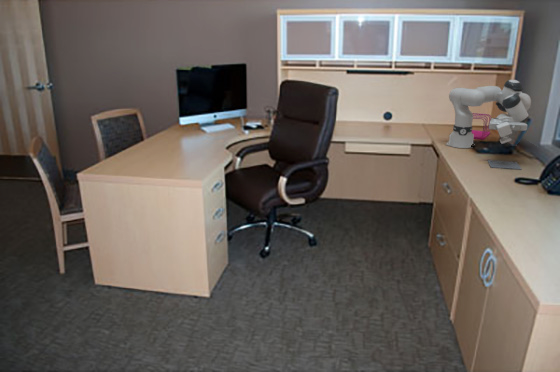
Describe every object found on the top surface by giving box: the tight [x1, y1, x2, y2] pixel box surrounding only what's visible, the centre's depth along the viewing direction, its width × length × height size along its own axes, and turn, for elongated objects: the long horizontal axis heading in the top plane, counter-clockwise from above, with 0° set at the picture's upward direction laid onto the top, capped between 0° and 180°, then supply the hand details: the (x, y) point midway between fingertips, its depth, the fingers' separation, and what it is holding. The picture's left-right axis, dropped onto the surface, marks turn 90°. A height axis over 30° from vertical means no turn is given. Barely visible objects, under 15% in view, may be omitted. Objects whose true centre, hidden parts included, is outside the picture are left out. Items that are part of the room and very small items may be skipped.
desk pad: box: [487, 159, 522, 171], centre depth 264 cm, size 16×16×1 cm
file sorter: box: [472, 112, 492, 141], centre depth 339 cm, size 17×25×16 cm
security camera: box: [496, 122, 513, 145], centre depth 259 cm, size 6×7×10 cm
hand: (509, 128), depth 257 cm, fingers closed on security camera
